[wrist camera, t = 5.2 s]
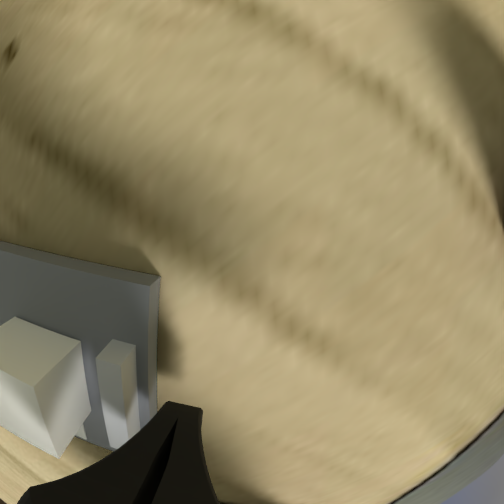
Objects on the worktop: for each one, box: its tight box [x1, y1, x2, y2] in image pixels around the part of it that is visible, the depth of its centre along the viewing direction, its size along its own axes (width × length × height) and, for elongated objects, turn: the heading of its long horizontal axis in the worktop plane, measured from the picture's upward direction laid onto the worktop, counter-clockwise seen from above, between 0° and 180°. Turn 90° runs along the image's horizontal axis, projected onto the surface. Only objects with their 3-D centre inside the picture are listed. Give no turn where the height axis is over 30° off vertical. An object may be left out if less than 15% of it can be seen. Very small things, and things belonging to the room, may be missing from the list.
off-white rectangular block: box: [0, 317, 91, 459], centre depth 9 cm, size 4×4×4 cm
